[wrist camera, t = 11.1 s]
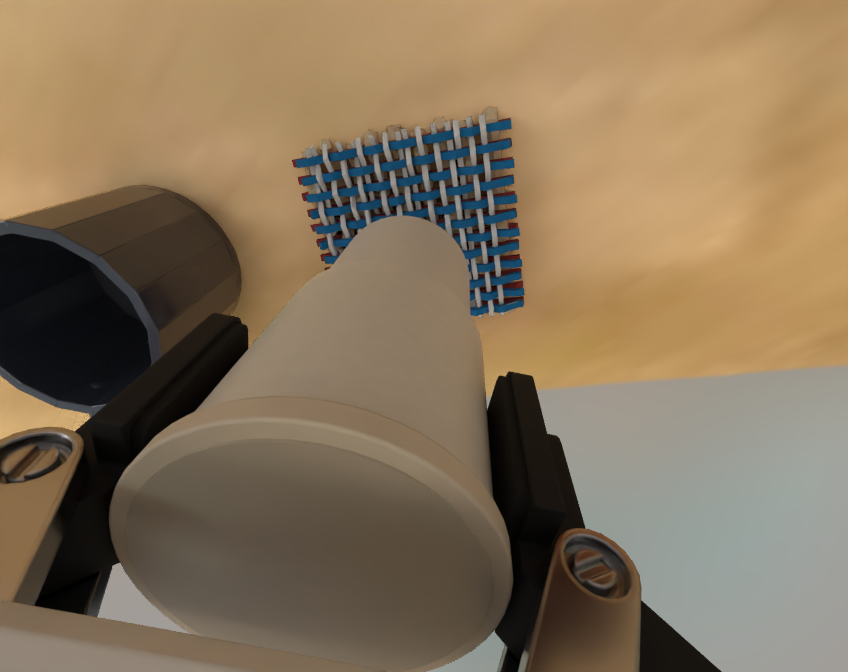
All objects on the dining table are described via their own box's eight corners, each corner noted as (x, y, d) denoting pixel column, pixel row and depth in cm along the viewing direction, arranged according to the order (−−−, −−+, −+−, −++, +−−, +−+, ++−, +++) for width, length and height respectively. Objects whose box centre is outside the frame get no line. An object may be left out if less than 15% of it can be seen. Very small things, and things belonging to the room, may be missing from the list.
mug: (72, 169, 24) (-93, 200, 17) (240, 203, 24) (148, 249, 17) (108, 360, 29) (-2, 443, 22) (243, 386, 30) (176, 477, 23)
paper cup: (324, 330, 19) (133, 649, 8) (336, 185, 16) (64, 377, 5) (462, 358, 19) (461, 710, 8) (500, 219, 16) (575, 477, 5)
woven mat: (292, 143, 22) (278, 148, 20) (507, 101, 21) (512, 102, 19) (346, 328, 27) (338, 344, 25) (523, 305, 25) (528, 321, 24)
